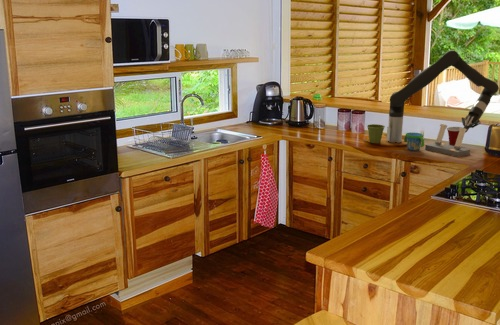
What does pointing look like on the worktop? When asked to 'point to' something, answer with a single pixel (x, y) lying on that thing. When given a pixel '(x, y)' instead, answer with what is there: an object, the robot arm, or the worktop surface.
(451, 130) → the plastic cup
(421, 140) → the snack cup
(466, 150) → the switch base
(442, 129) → the inner lever
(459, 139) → the outer lever
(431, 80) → the robot arm
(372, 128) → the plant pot
